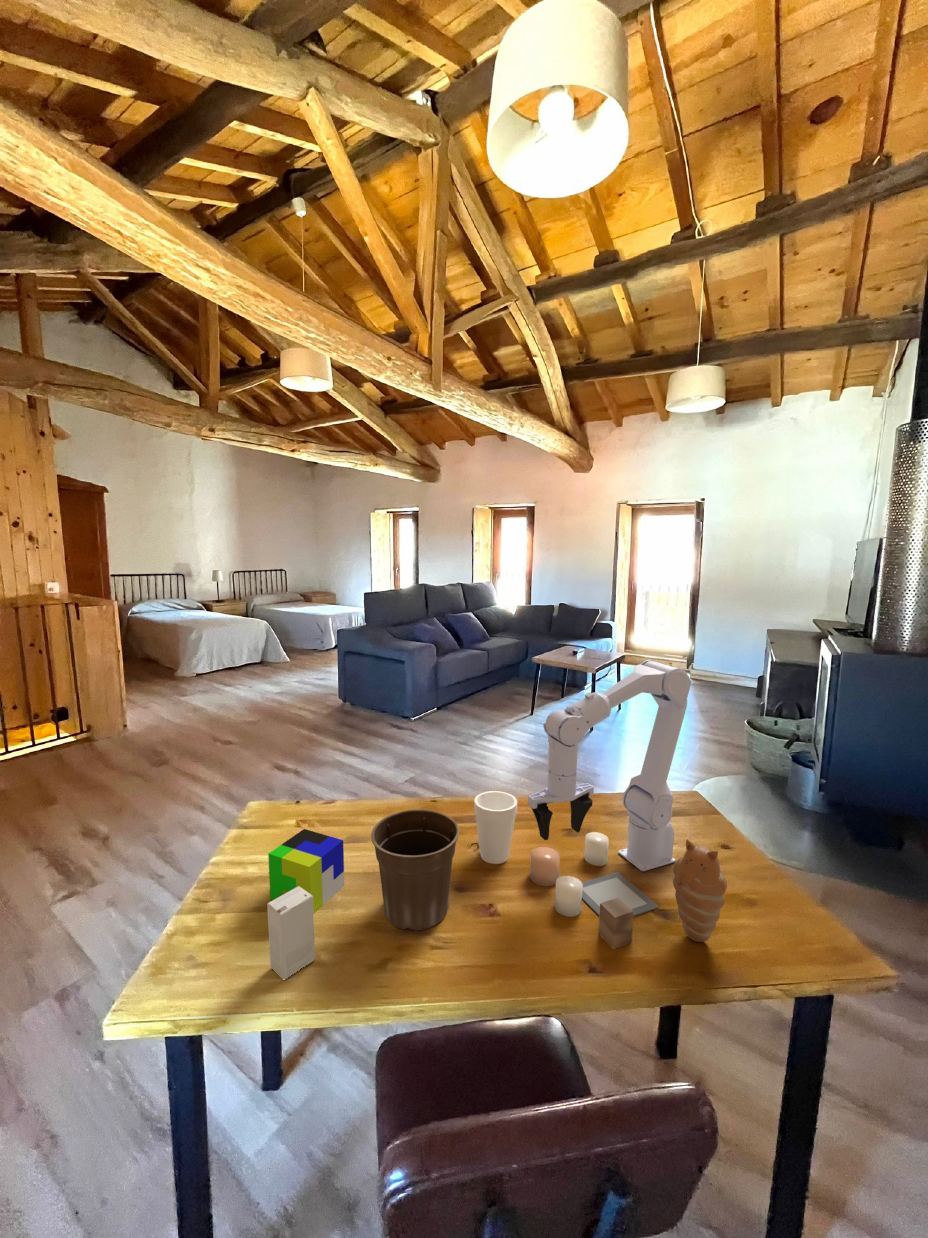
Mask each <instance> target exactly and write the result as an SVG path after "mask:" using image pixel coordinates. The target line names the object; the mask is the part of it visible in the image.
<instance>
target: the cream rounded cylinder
mask: <svg viewBox="0 0 928 1238" xmlns="http://www.w3.org/2000/svg"><path fill="white" fill-rule="evenodd" d="M584 836H585V838H584V852H583V853H584V856H583V858H584V861H585V862H586V863H588V864H589V865H592V866H596V867H601V866H605V865H607V864H608V859H609V858H608V857H609V856H608V855H609V846H610V845H609V843H610V840H609V836H607V835H606V834H604V833H603V832H596V831H591V832H588V833H586V834H585V835H584Z"/></svg>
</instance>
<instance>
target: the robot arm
mask: <svg viewBox="0 0 928 1238" xmlns="http://www.w3.org/2000/svg"><path fill="white" fill-rule="evenodd" d="M691 685H692V680H691V678H690V677H689V675H688V673H687V672H686V670H684V669H683V668H680V667H674V666H672V665H668V664H664V663H660V662H658V661H656V660H654V659H645V660H644V661H642V662H641V663H639V664H636V665H635V666H634V668H633V671H632V672H631V673H629V674H628V675H626V676H625V677H624V678H623V679H621V680H619V681H618V682H617V683H615V684H614V685H613V686H611V687H610V688H608V689H607V690H605V691H604V692H601V693H599V692H592V693H591V692H587V693H586V694H585V695H584V697H583V698H582V699H580V700H578V701H576V702H575V703H573V704H571V705H570V704H569V705H567V706H566V707H565V709H564V710H563V709H556V710H554V711H552V712H550V713H549V714H548V716H547V717H546V719H545V722H544V723H543V725H542V726H543V731H544V732H545V733H546V735H547V743H548V757H547V762H548V763H547V786H546V787H545V788H543V789H542V790H540V791H537V792H535V793H533V794H529V795H527V805H528V806H529V807H530V809H531V811H532V812H533V815H534V817H535V820H536V823H537V827H538V832H539V836H540V837H541V838H542V839H543V840H544V841H548V840H549V839H550V824H551V819H552V817H553V814H554V812H553V811H552V810H550V809H549V806H548V804H549V805H550V804H553V803H568V802H569V805H570V827H571V829H572V830H573V831H575V833H580V832H581V829H582V826H583V823H584V820H585V817H586V815H587V814H588V812H589V810H590V809H591V807H592V806H593V799H592V798H590V797H593V796H594V792H595V791H594V790H595V787H594V786H593V785H591V783H588V782H586V783H580V784H579V783H577V777H578V776H577V775H578V774H577V773H578V752H579V751H578V750H579V744H580V743H581V742H582V741H583V739H584V737H585V735H586V734H587V733H588V731H589V730H590V729H591V728H593V727H595V726H596V725H598V724H600V723H601V722H603V721H605V720H606V719H608V718H609V717H610V715H611V713H612V712H611V711H612V709H613V708H615V707H617V706H619V705H621V704H622V703H625V702H626V701H628V700H630V699H632V698H634V697H636V696H638V695H640V694H642V693H643V694H650V695H651V696H652V697H653V699H654V701H655V702H656V704H657V706H658V708H657V711H656V716H655V719H654V722H653V727H652V730H651V734H650V737H649V741H648V745H647V750H646V753H645V756H644V760H643V763H642V767H641V771H640V774H638V775H635V776H633V777H631V778H630V781H629V785H628V786H627V788H626V789H625V791H624V793H623V794H622V799H621V800H622V804H623V807H624V808H625V809H626V811H627V813H626V814H627V816H628V827H627V829H628V830H627V831H628V832H627V845H626V848H622V849H619V850H618V854H619V855H621V856H622V858H625V859H626V861H628V862H629V863H631V864H632V865H634V866H635V867H636V868H637V869H638V870H640V871H641V872H646V871H649V870H652V869H656V868H659V867H662V866H666V865H669V864H674V863H675V862H676V859H675V858H674V857H673V856H674V855H673V853H674V843H675V842H674V841H675V840H674V839H675V830H674V828H673V827H674V826H673V823H671V820H672V818H673V817H672V816H673V812H674V809H673V800H674V797H675V796H674V795H673V792H672V791H671V789H670V787H669V785H668V783H667V780H668V777H669V774H670V769H671V766H672V762H673V758H674V755H675V751H676V748H677V744H678V740H679V736H680V734H681V730H682V729H681V728H682V725H683V723H684V718H685V715H686V711H687V708H688V697H689V692H690V689H691Z"/></svg>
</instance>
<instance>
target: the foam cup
mask: <svg viewBox="0 0 928 1238" xmlns="http://www.w3.org/2000/svg"><path fill="white" fill-rule="evenodd" d="M473 811H474V814H475V822H476V829H477V830H476V831H477V839H478V846H479V853H480V854H479V855H480V857H481V860H483V861H484V862H486V863H488V864H492V865H499V864H503V863H506V861H508V860H509V857H510V851H511V844H512V838H513V834H514V833H513V832H514V827H515V821H516V816H517V812H518V799H517V798H516V797H515V795H512V794H511V793H509V792H505V791H499V790H498V791H497V790H488V791H484V792H481V793H479V794H478V795H476V796H475V797H474V800H473Z"/></svg>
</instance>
